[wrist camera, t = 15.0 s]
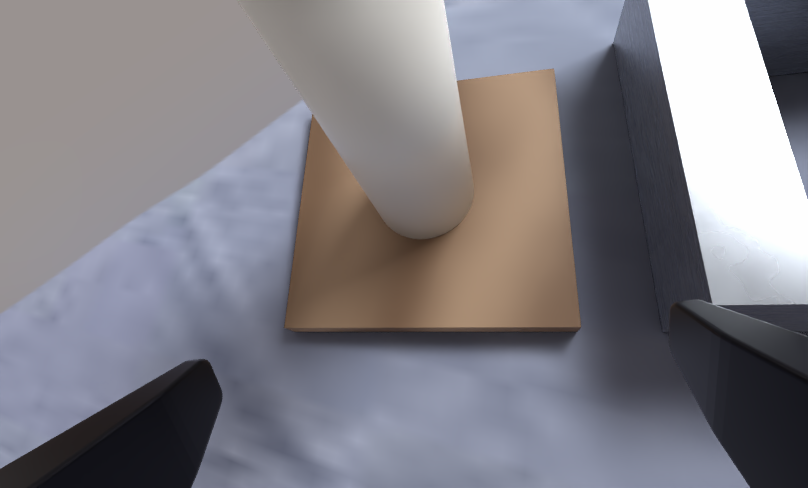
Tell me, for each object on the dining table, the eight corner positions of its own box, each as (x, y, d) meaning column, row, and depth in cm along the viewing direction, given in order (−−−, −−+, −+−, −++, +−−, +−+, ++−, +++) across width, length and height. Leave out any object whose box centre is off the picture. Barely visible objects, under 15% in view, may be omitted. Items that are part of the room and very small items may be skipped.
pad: (294, 331, 20) (284, 327, 19) (321, 110, 24) (314, 98, 23) (577, 331, 17) (581, 327, 16) (552, 83, 21) (554, 68, 20)
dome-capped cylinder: (399, 256, 19) (211, -9, 7) (363, 178, 21) (163, -138, 9) (492, 209, 19) (460, -145, 7) (447, 135, 20) (358, -249, 9)
